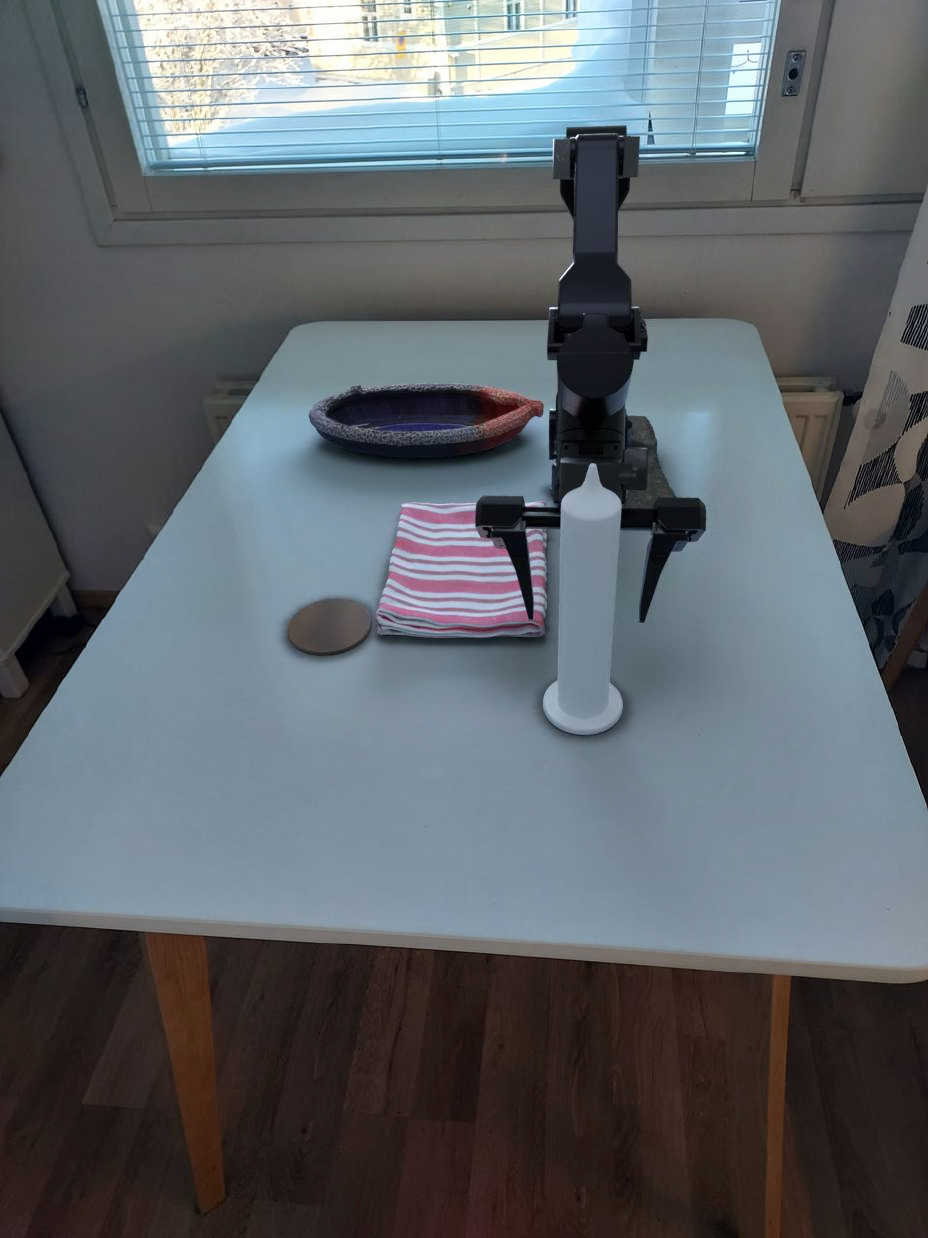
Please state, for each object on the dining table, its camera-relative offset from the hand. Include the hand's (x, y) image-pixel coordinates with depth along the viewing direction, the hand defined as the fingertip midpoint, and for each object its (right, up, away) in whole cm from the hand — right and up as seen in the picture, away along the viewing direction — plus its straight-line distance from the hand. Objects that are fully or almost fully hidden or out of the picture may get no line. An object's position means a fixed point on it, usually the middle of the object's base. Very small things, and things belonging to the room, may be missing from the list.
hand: (585, 621), depth 77 cm
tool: (+13, +17, +35) cm, 41 cm away
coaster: (-24, -1, +16) cm, 29 cm away
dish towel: (-10, +5, +22) cm, 25 cm away
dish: (-15, +24, +46) cm, 54 cm away
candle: (0, -8, +6) cm, 10 cm away
